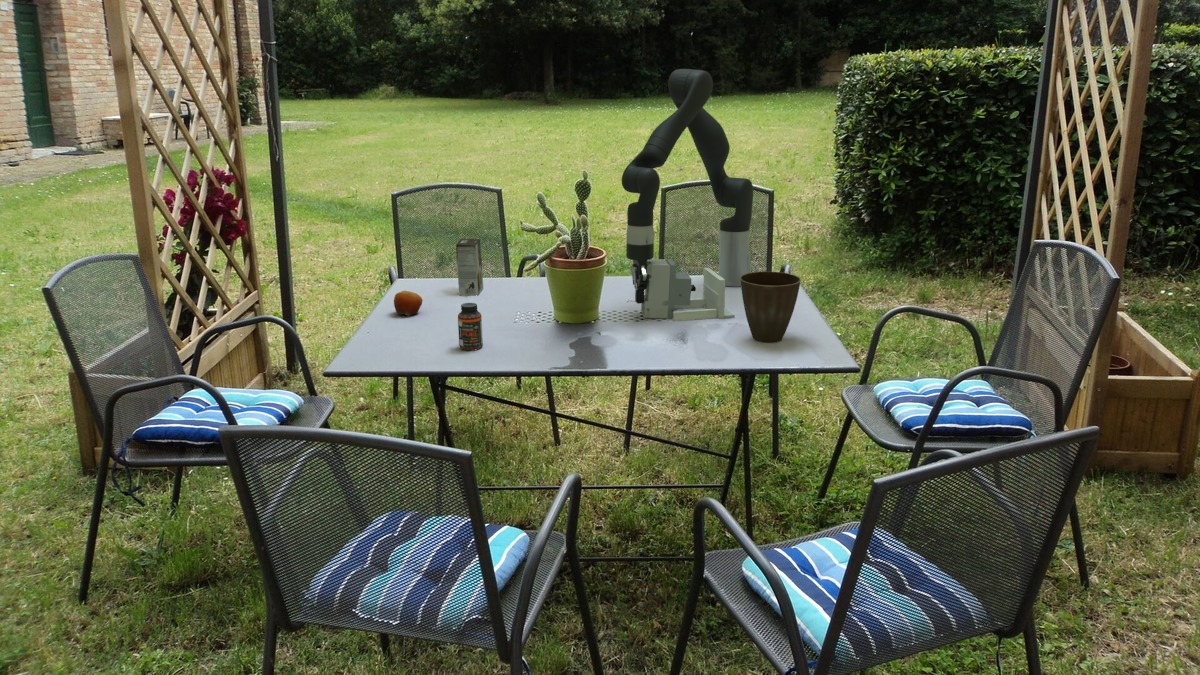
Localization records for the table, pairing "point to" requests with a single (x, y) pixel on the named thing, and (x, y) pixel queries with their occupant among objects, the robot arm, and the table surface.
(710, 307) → the rail bracket
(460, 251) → the coffee box
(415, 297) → the fruit
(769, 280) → the plant pot
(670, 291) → the circuit breaker
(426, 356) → the table surface
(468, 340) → the supplement bottle
